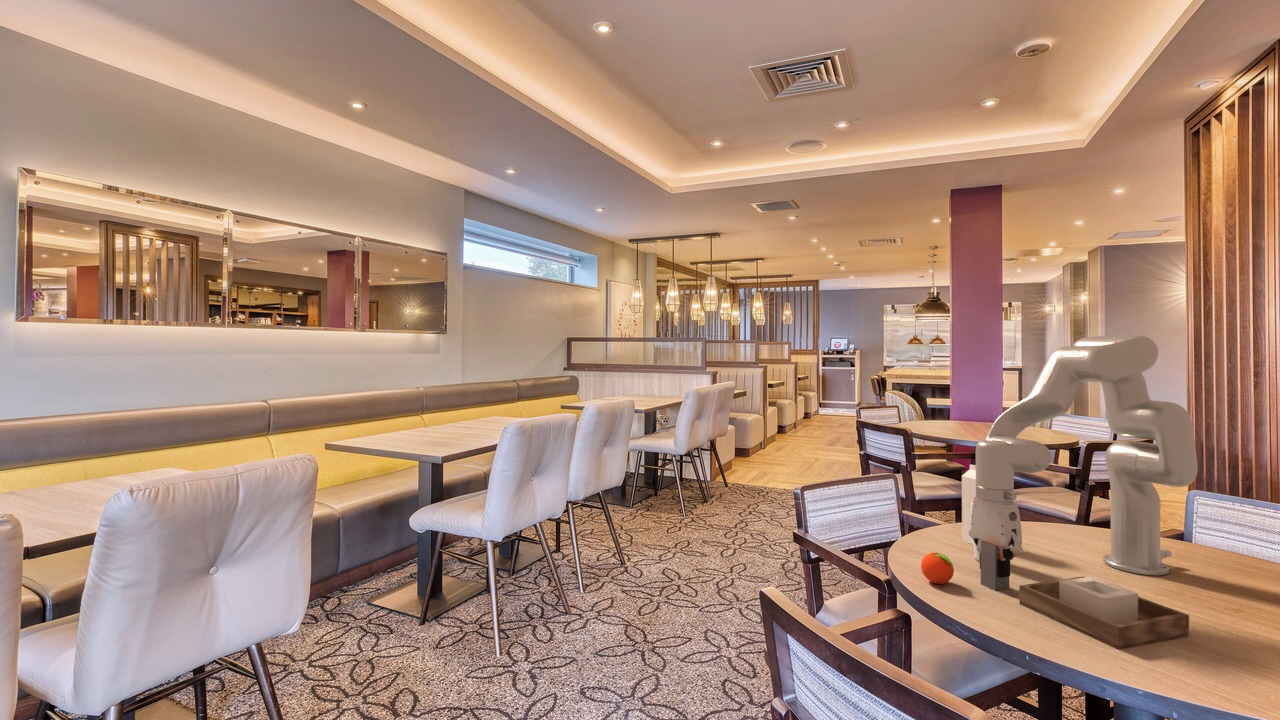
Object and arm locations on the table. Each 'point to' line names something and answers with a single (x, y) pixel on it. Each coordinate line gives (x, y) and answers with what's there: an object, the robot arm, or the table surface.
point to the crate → (1147, 629)
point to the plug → (991, 568)
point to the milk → (968, 501)
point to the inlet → (1100, 599)
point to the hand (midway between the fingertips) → (994, 572)
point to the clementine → (937, 568)
